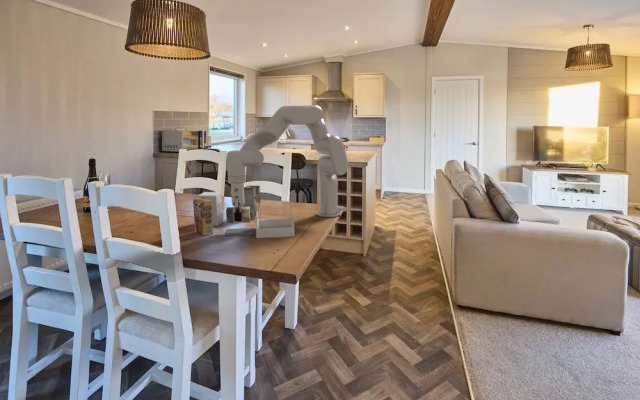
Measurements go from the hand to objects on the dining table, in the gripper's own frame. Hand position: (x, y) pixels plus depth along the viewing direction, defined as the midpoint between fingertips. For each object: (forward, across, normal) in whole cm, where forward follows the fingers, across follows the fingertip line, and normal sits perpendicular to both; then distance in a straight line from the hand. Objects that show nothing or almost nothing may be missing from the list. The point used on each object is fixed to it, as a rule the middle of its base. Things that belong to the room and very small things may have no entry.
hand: (238, 219), depth 171 cm
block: (+1, 0, 0) cm, 1 cm away
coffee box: (+6, +27, -5) cm, 28 cm away
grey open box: (+6, -2, -16) cm, 17 cm away
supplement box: (+6, +17, +14) cm, 23 cm away
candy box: (+6, +1, +15) cm, 17 cm away
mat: (+6, 0, 0) cm, 6 cm away
